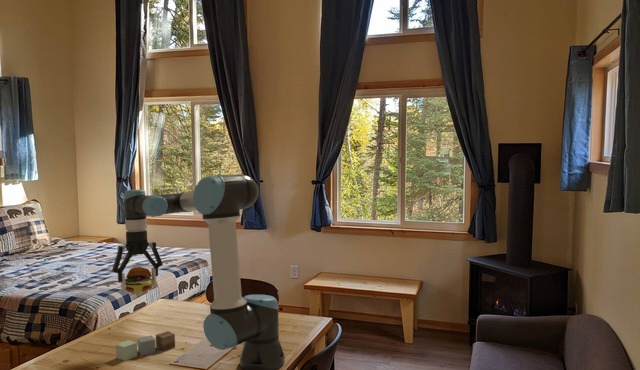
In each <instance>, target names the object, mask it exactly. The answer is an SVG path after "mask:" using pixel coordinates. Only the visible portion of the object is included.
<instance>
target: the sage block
mask: <svg viewBox="0 0 640 370" xmlns="http://www.w3.org/2000/svg"><path fill="white" fill-rule="evenodd" d="M115 351H116V353H115V354H116V359H119V360H121V361H124V362H126V361H128V360H131V359H134V358H136V357H138V341H136V342H135V341H133V340H130V339H126V340H124V341H121V342H118V343H116V344H115Z"/></svg>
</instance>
